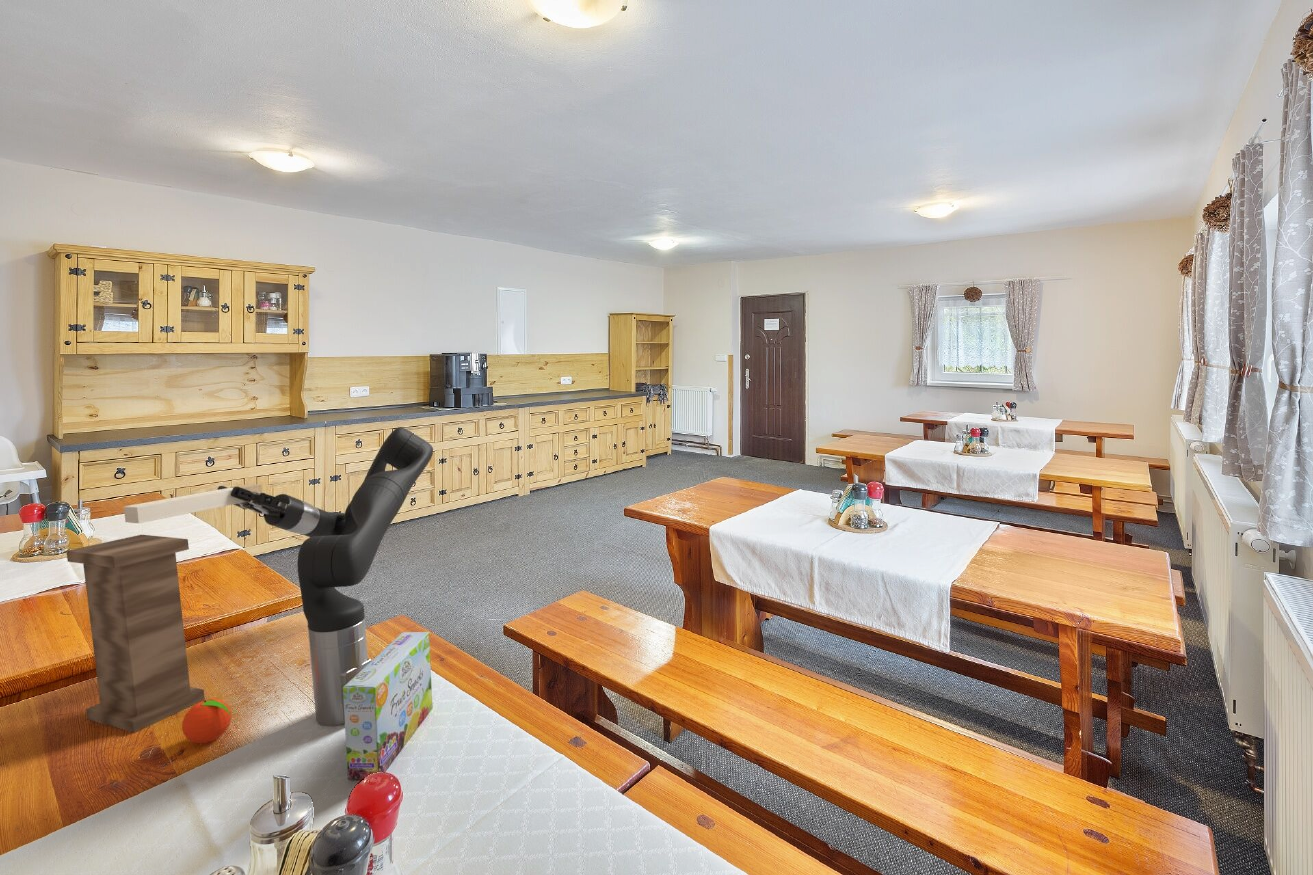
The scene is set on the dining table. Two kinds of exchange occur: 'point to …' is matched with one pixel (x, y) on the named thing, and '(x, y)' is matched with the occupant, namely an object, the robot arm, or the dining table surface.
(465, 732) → the dining table surface
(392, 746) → the snack box
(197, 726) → the clementine
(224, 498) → the cream wooden bar
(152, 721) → the walnut pedestal
